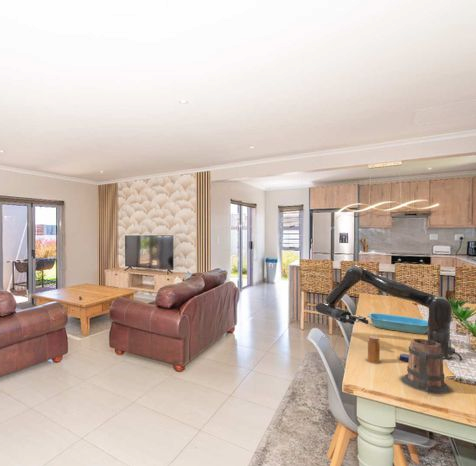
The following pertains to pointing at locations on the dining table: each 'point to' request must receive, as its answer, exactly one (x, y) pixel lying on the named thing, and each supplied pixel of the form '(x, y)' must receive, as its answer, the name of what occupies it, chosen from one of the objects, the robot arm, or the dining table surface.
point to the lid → (404, 357)
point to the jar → (373, 349)
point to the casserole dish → (399, 323)
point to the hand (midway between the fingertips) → (360, 322)
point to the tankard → (426, 367)
